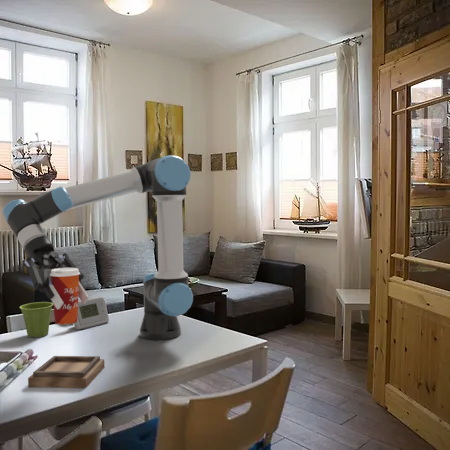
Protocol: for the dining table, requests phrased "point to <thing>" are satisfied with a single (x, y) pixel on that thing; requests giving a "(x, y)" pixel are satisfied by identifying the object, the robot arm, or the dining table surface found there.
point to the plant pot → (37, 318)
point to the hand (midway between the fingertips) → (73, 303)
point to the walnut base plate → (67, 372)
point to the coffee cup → (66, 294)
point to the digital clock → (91, 313)
